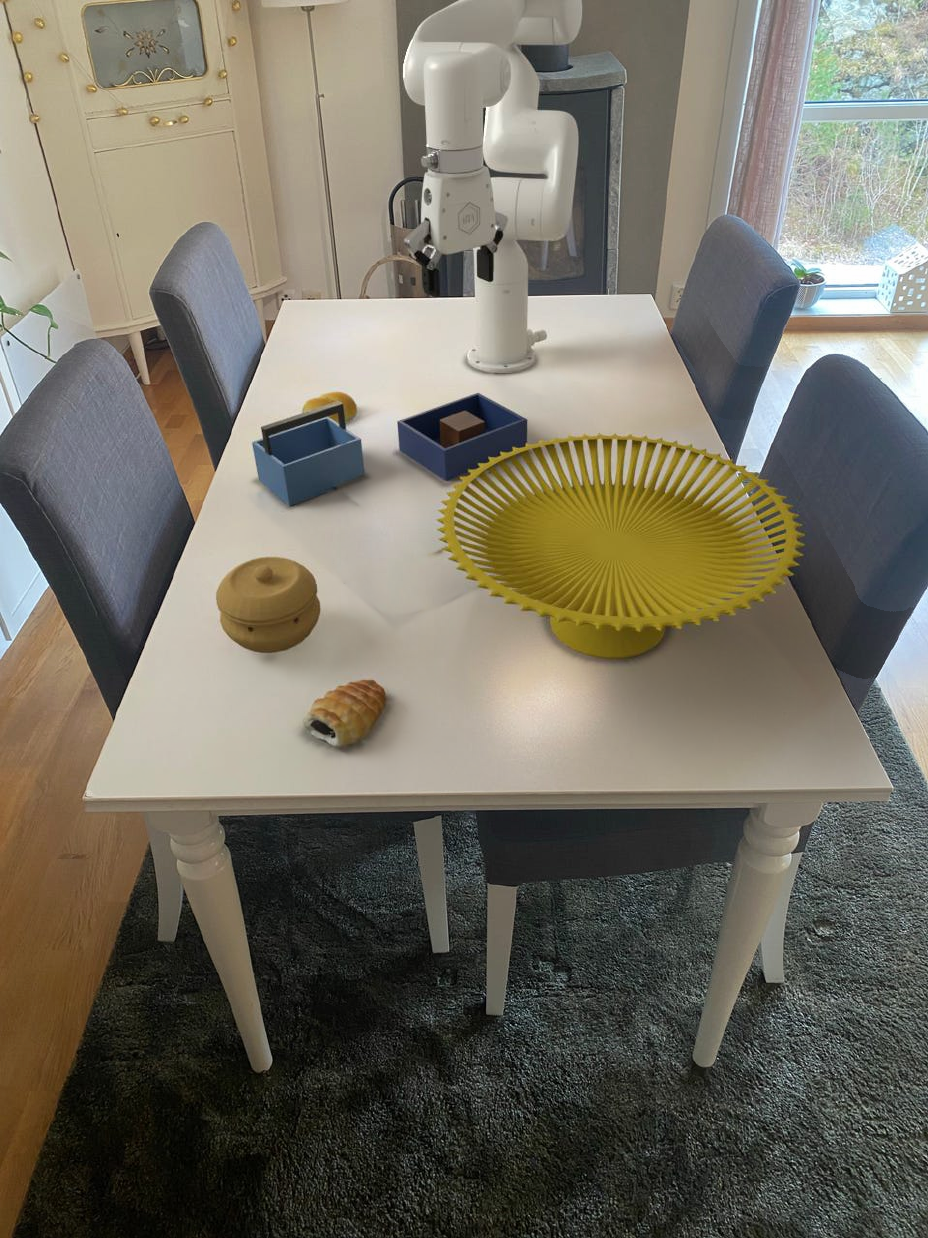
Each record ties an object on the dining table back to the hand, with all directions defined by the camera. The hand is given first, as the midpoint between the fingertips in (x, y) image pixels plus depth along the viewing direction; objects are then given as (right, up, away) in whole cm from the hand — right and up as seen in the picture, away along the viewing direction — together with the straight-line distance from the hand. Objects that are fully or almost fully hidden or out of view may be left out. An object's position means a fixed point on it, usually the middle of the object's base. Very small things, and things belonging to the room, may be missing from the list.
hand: (458, 286), depth 137 cm
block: (+1, -22, +11) cm, 24 cm away
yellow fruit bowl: (+18, -49, -23) cm, 57 cm away
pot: (-22, -50, -23) cm, 60 cm away
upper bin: (-22, -27, +6) cm, 36 cm away
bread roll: (-22, -15, +22) cm, 34 cm away
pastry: (-12, -60, -35) cm, 70 cm away
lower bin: (+1, -22, +11) cm, 25 cm away
